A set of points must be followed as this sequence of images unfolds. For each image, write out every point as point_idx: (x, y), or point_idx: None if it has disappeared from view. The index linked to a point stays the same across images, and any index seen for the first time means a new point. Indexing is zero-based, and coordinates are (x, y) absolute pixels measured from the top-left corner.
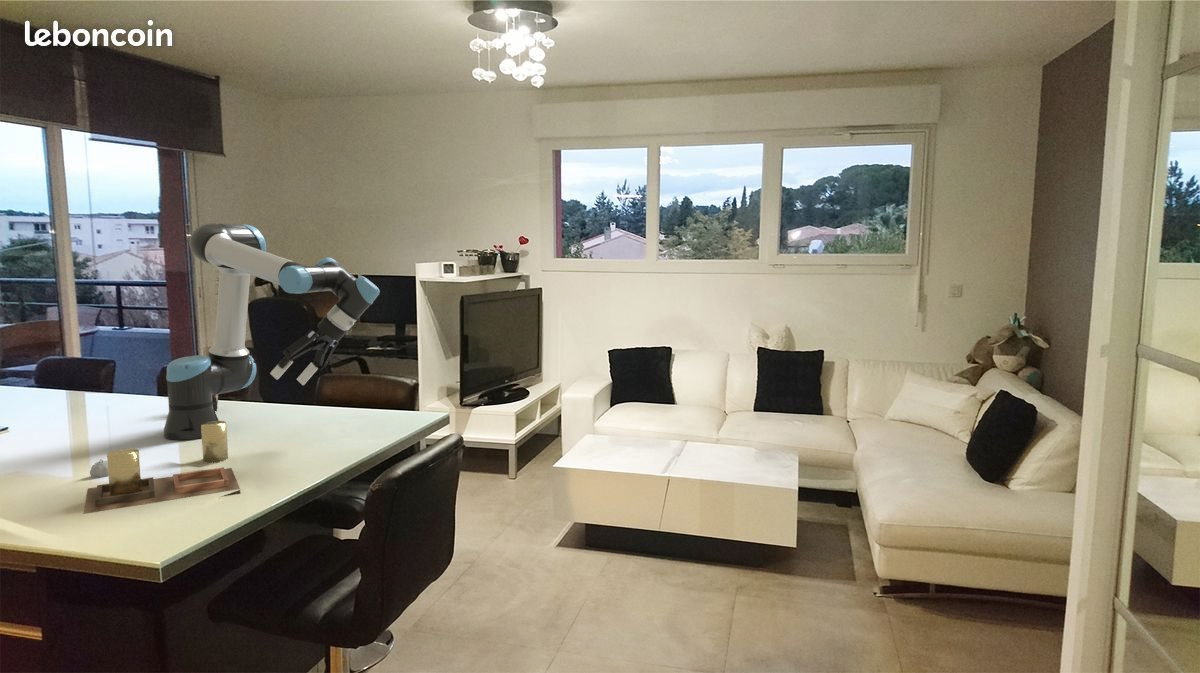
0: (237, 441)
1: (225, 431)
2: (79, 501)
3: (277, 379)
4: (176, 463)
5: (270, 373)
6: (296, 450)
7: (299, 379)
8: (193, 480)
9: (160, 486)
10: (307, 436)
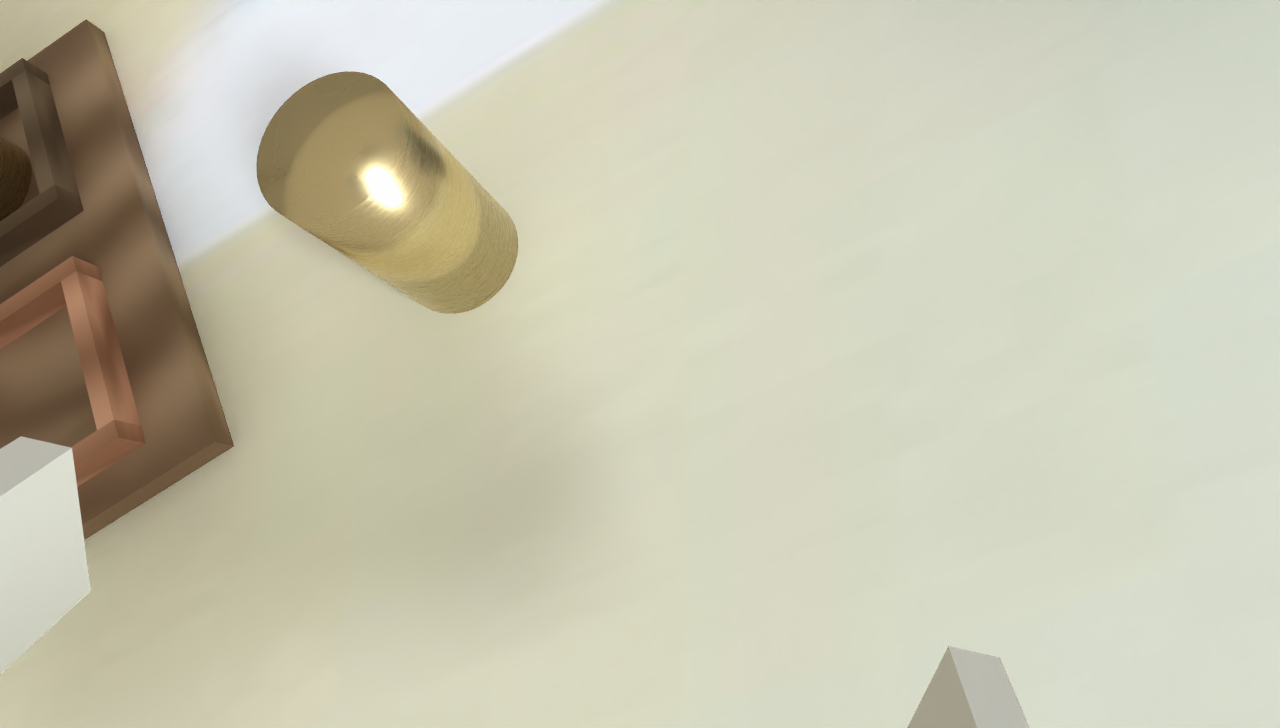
0: (835, 182)
1: (351, 246)
2: None
3: (75, 589)
4: (415, 105)
5: (18, 449)
6: (608, 680)
7: (940, 719)
8: (77, 354)
9: (39, 260)
10: (1013, 648)
